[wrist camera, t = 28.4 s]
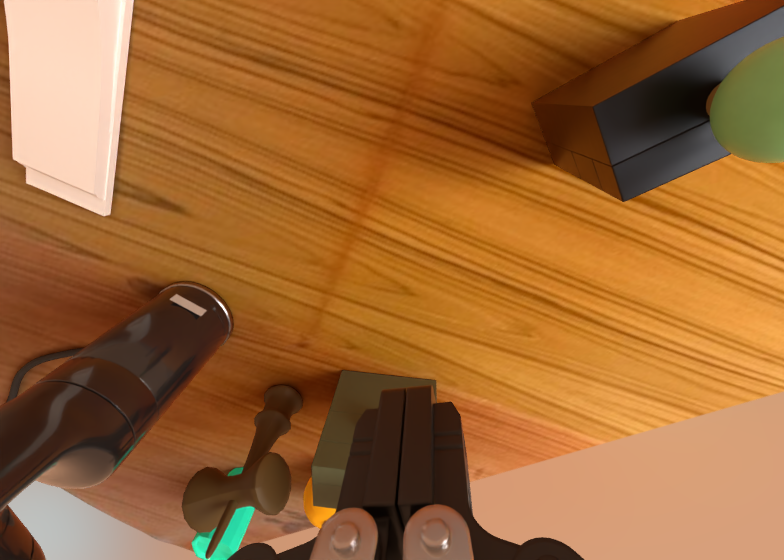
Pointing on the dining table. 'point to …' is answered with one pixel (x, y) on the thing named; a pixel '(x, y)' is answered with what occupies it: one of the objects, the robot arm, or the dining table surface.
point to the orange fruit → (315, 508)
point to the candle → (231, 535)
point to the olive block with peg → (348, 428)
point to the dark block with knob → (674, 102)
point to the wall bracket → (68, 94)
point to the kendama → (246, 474)
